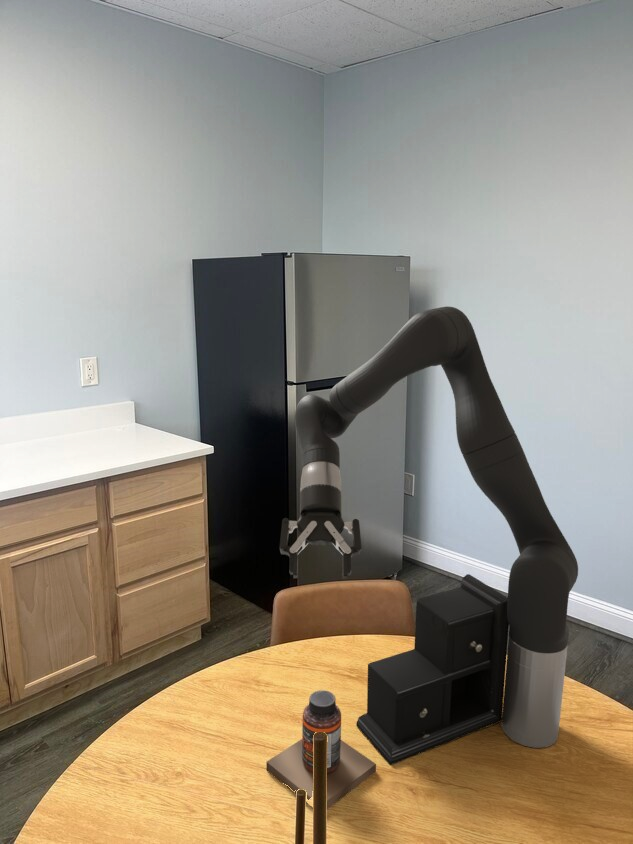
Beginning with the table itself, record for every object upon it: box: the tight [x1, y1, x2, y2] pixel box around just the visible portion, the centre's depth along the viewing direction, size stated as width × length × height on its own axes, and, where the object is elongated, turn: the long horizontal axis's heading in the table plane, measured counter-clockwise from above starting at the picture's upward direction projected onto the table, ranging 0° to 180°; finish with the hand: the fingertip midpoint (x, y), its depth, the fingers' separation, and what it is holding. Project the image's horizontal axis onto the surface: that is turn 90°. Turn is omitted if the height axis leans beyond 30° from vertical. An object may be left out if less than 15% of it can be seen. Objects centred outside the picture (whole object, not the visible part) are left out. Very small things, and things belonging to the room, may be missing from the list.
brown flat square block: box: [265, 738, 377, 810], centre depth 103 cm, size 12×12×2 cm
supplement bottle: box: [301, 689, 342, 773], centre depth 102 cm, size 6×6×11 cm
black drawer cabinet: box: [356, 573, 509, 766], centre depth 112 cm, size 23×11×24 cm, turn 117°
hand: (320, 577), depth 114 cm, fingers open, 8 cm apart
